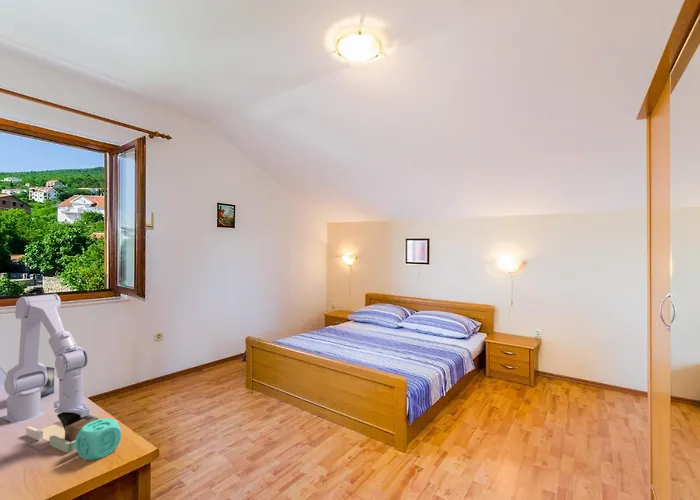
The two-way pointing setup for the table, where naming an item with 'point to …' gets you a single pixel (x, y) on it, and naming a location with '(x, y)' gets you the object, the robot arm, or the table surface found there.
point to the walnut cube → (74, 429)
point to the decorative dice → (98, 439)
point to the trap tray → (54, 436)
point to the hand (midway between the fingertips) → (71, 434)
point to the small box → (48, 383)
